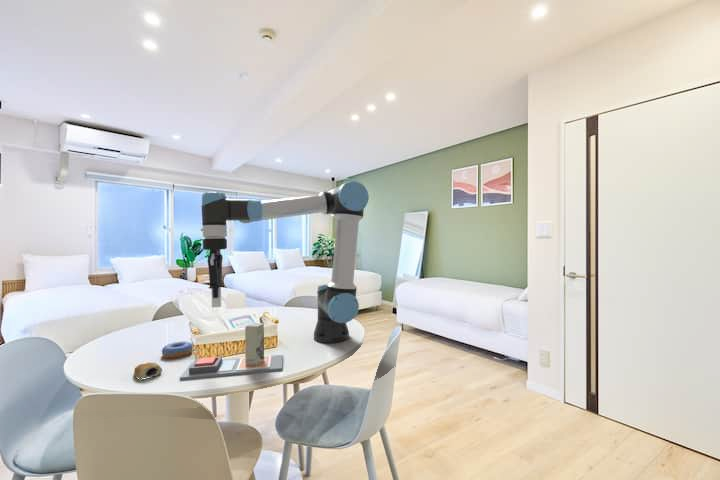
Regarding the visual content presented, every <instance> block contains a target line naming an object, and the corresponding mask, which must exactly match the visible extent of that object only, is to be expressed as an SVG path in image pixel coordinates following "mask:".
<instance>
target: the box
mask: <svg viewBox="0 0 720 480" xmlns="http://www.w3.org/2000/svg"><path fill="white" fill-rule="evenodd" d="M264 326H265V323H264V322H252V323H249V324H248V325H245V327H244V329H245V330H244V331H245V333H244V334H245V335H244V337H245V347H244V350H245V357H244V358H245V365H255V366H257V365H259V364H260V363H261V362H263V361H264V356H265V327H264Z"/></svg>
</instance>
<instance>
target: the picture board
mask: <svg viewBox="0 0 720 480" xmlns="http://www.w3.org/2000/svg"><path fill="white" fill-rule="evenodd" d="M215 357H216V363H215V364H214V365H208V366H196V363H197V361H198V360H199V359H200V358H196V359H195V360H194V361H193V362H191V363H190V364H189V365H188V366H187V368H186V369H185V370H184V371H183V373H182V374H181V375H180V377H179V381H184V380H185V381H186V380H196V379H208V378H216V377H217V378H218V377H228V376H238V375H248V374H249V375H250V374H259V373H267V372H268V373H269V372H280V371H283V359H284V358H283V357H284V354H276V355H275V354H273V355H264V361H263V362H261V363H260V364H259V365H257V366H255V365H245V357H241V358H240V357H239V358H238V357H237V358H229V359H228V358H227V359H223V356H215Z"/></svg>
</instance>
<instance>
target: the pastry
mask: <svg viewBox="0 0 720 480" xmlns="http://www.w3.org/2000/svg"><path fill="white" fill-rule="evenodd" d="M162 371H163V368H162V367H161V365H159V364H157V363H156V362H146V363H141V364H139V365H137V366H136V367H134V372H133V374H134V376H135V377H136V376H137V377H138V378H139V379H142V378H147V377H152V376H155V377H157V376H159V375H160V374H161V373H162ZM156 375H157V376H156ZM137 377H136V378H137ZM138 378H137V379H138ZM152 378H153V377H152ZM139 379H138V380H139Z"/></svg>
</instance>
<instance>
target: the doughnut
mask: <svg viewBox="0 0 720 480" xmlns="http://www.w3.org/2000/svg"><path fill="white" fill-rule="evenodd" d="M192 346H193V343H191V342H189V341H175V342H171V343H168V344H166V345H164V346H163V347H162V350H161V353H162V357H164V358H165V359H171V360H173V359H179V358H183V357H186V356H188V355H190V354H191V353H192V351H194V349H192Z"/></svg>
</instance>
